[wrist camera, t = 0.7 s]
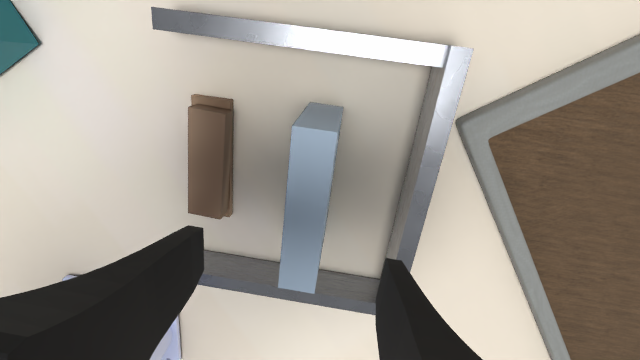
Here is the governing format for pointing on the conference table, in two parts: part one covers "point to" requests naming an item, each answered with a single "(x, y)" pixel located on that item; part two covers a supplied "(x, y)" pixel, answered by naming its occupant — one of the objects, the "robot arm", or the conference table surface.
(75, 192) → the conference table surface
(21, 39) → the teal l-shaped bracket
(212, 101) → the block
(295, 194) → the panel
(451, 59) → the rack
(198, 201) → the offcut top
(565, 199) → the picture frame
